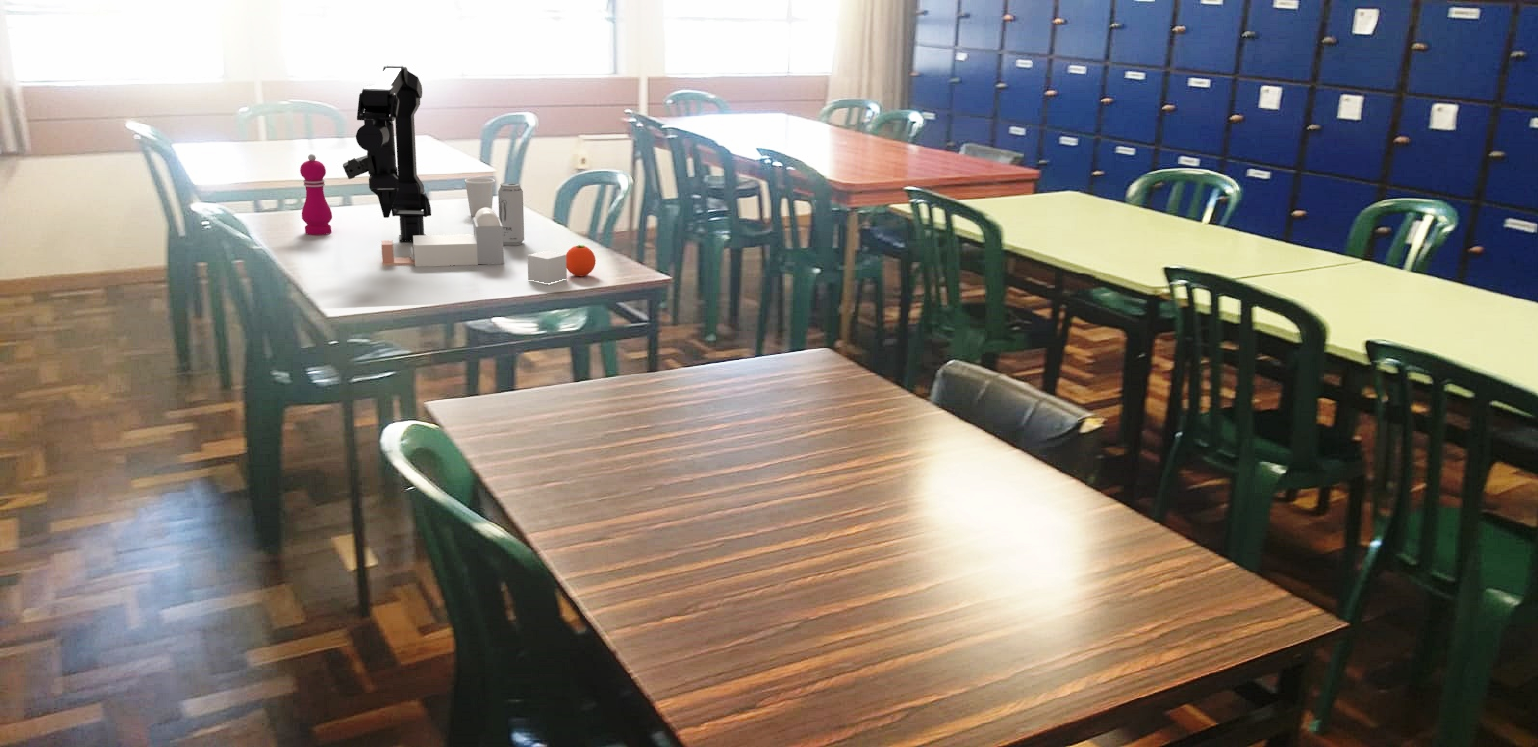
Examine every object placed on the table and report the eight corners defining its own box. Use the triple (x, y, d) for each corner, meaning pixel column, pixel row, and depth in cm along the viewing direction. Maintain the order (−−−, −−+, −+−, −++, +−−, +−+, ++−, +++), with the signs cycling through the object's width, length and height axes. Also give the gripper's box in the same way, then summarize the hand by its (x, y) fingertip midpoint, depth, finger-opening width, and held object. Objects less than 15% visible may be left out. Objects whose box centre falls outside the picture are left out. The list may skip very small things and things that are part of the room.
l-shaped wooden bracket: (382, 261, 270) (381, 240, 269) (444, 259, 274) (443, 238, 273) (382, 266, 265) (381, 245, 263) (445, 264, 269) (444, 243, 268)
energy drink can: (495, 243, 292) (493, 183, 287) (515, 240, 296) (513, 181, 291) (509, 247, 288) (507, 187, 283) (529, 244, 292) (527, 185, 287)
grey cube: (548, 285, 253) (547, 259, 251) (528, 281, 256) (527, 255, 254) (566, 280, 258) (566, 254, 256) (547, 276, 261) (546, 250, 259)
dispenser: (410, 256, 274) (407, 208, 271) (500, 253, 280) (498, 206, 277) (411, 266, 264) (408, 217, 261) (504, 264, 271) (502, 215, 267)
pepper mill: (296, 233, 293) (289, 154, 287) (317, 229, 300) (310, 151, 294) (319, 236, 291) (312, 157, 285) (339, 232, 297) (333, 153, 291)
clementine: (569, 270, 267) (568, 240, 265) (598, 272, 267) (598, 241, 265) (562, 278, 259) (561, 247, 257) (592, 280, 259) (592, 249, 257)
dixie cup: (492, 218, 322) (490, 182, 319) (462, 217, 322) (460, 181, 319) (499, 213, 330) (498, 178, 327) (470, 211, 330) (468, 176, 327)
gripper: (344, 139, 265) (350, 206, 270) (342, 151, 249) (347, 222, 254) (395, 139, 269) (399, 206, 274) (396, 150, 252) (400, 221, 257)
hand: (386, 213), depth 264 cm, fingers open, 9 cm apart
